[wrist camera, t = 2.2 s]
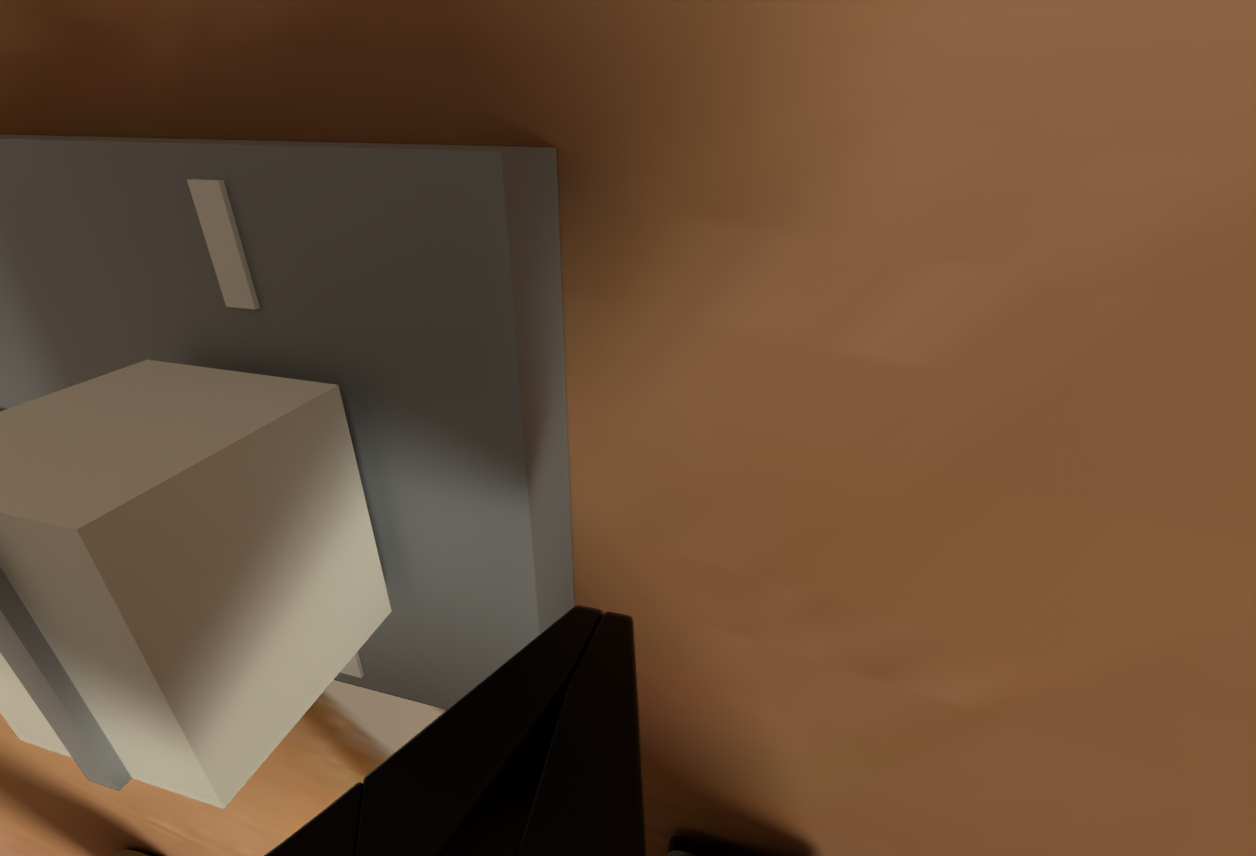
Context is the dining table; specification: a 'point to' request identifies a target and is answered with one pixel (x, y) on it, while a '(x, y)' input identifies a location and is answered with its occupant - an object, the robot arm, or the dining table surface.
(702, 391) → the dining table surface
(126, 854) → the squeeze bottle
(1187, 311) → the dining table surface
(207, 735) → the cap
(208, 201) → the plate
